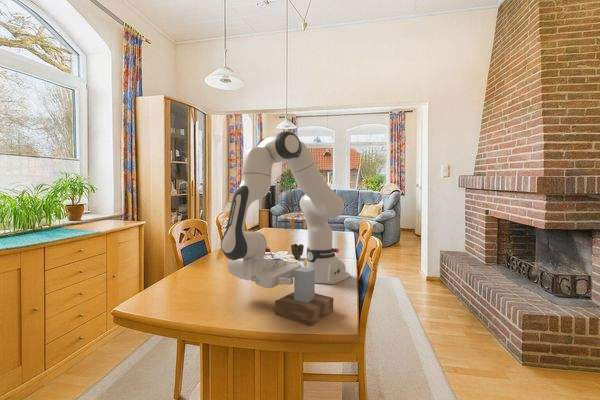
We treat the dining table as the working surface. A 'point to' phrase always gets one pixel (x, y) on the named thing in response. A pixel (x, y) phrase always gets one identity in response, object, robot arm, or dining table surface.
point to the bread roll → (305, 262)
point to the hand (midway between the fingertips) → (299, 278)
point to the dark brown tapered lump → (297, 250)
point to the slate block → (304, 284)
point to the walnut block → (304, 308)
